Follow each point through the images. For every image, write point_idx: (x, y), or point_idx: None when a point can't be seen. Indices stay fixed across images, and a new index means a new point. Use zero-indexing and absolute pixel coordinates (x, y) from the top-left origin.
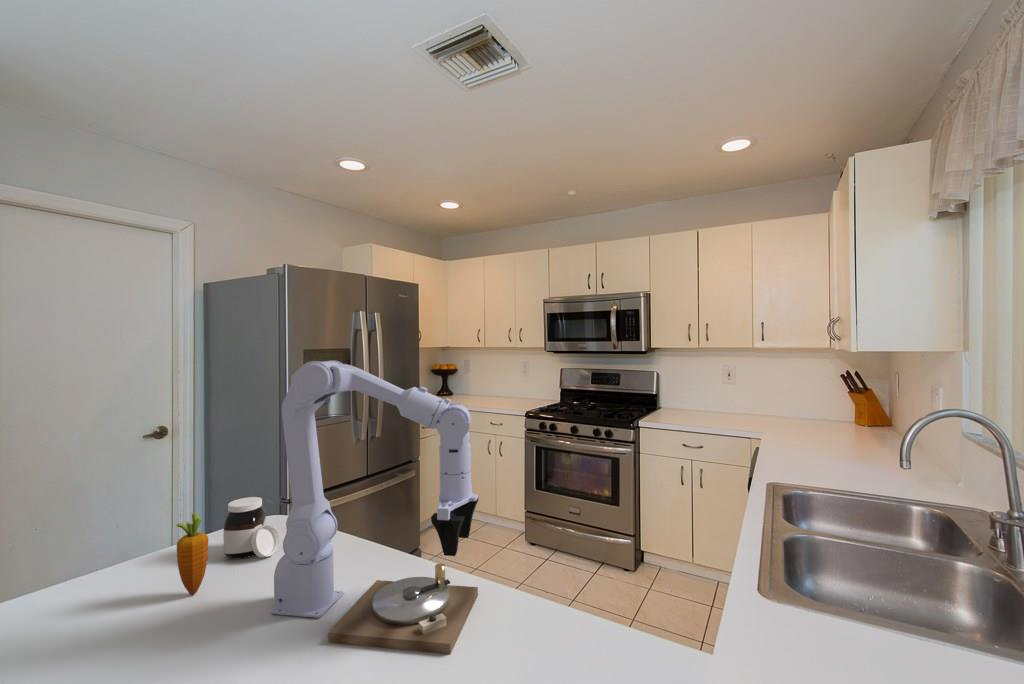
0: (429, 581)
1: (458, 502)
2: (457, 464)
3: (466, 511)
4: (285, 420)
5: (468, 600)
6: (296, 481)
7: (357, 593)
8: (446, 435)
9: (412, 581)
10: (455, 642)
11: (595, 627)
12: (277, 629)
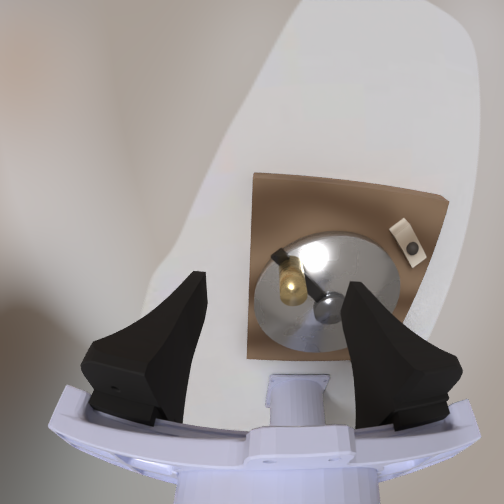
0: (274, 290)
1: (422, 457)
2: None
3: (175, 356)
4: None
5: (316, 189)
6: None
7: (265, 363)
8: None
9: (275, 318)
10: (420, 191)
11: None
12: (343, 391)
